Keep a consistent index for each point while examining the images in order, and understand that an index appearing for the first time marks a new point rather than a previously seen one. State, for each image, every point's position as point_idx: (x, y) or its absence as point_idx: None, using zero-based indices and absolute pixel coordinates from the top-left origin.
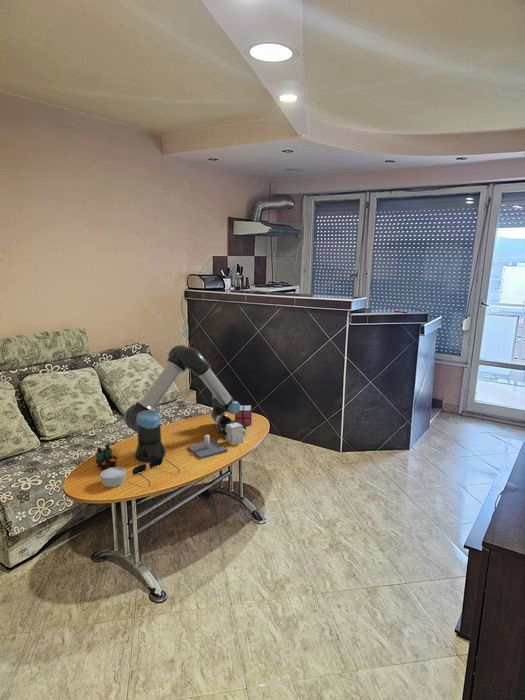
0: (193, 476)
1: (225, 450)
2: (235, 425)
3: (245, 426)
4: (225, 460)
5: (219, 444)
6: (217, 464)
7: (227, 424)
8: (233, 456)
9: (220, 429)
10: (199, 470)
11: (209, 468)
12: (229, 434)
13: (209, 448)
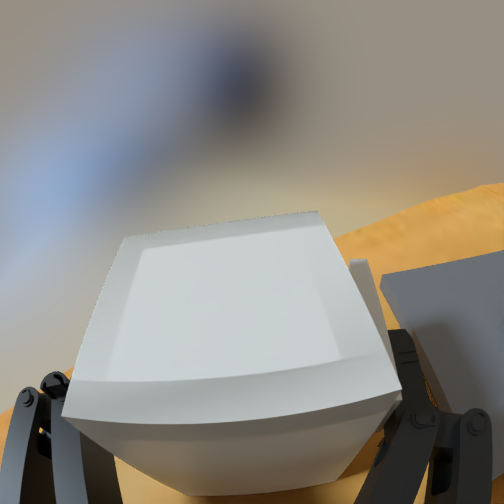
0: (490, 186)
1: (394, 275)
2: (208, 277)
3: (29, 389)
4: (397, 219)
5: (436, 368)
6: (431, 207)
7: (362, 384)
8: (351, 236)
9: (470, 447)
10: (485, 200)
11: (456, 198)
12: (358, 266)
13: (501, 318)
